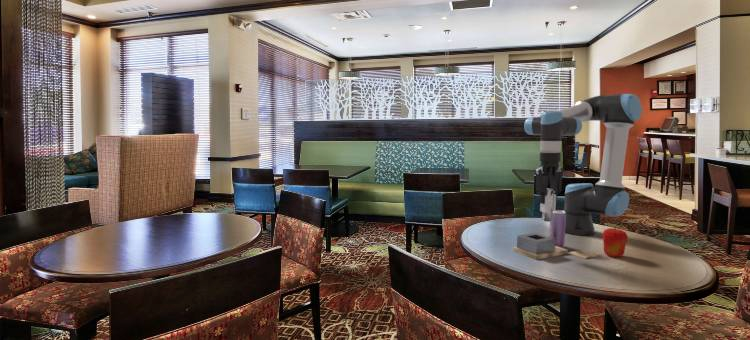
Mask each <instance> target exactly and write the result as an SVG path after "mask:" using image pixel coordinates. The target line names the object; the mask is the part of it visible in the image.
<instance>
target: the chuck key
mask: <svg viewBox="0 0 750 340" xmlns="http://www.w3.org/2000/svg"><path fill="white" fill-rule="evenodd" d="M554 193H555V190H554V189H550V187H549V188H548V187H547V192H546V195H547V196H548V199H547V212H542V211H541V221H543V222H549V223H550V222H551V221H552V216H553V194H554Z"/></svg>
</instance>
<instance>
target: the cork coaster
mask: <svg viewBox="0 0 750 340" xmlns="http://www.w3.org/2000/svg"><path fill="white" fill-rule="evenodd" d="M568 254H570V255H572V256H575V257H578V258H581V259H584V260H586V259H591V258H592V259H593V258H597V257H598V254H595V253H593V252H590V251H586V250H582V249H579V250H573V251H570V252H568Z"/></svg>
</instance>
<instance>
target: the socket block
mask: <svg viewBox="0 0 750 340" xmlns="http://www.w3.org/2000/svg"><path fill="white" fill-rule="evenodd" d="M516 240H517V241H516V247H517V248H519V249H522V250H525V251H528V252H530V253H533V254H536V255H537V254H543V253H548V252H553V251H555V239H554V238H551V237H549V236H548V235H544V234H540V233H538V232H533V233H526V234H525V233H523V234H519V235H518V234H517V237H516Z"/></svg>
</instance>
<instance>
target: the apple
mask: <svg viewBox="0 0 750 340" xmlns="http://www.w3.org/2000/svg"><path fill="white" fill-rule="evenodd" d="M628 238H629V237H628V234H627V232H626V231H624V230H622V229H619V228H616V226H614V228H613V227H611V228H605V229H604V230H603V232H602V242H603V251H604V253H605V255H606V256H607V257H610V258H620V257H622V256H623V255H624V254H625V249H626V246H627V242H628Z"/></svg>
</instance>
